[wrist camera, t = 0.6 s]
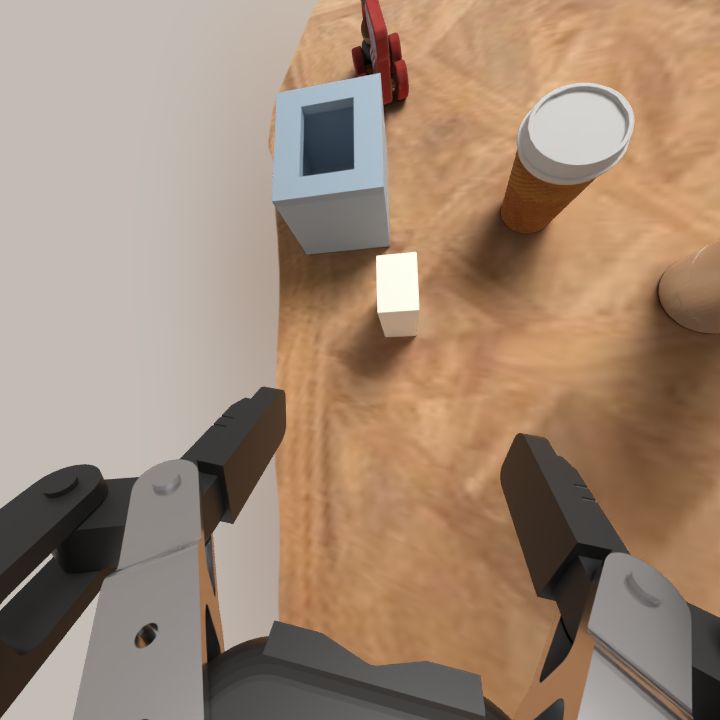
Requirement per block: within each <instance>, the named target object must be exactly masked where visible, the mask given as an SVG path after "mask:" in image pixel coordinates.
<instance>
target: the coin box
mask: <svg viewBox="0 0 720 720" xmlns="http://www.w3.org/2000/svg"><path fill="white" fill-rule="evenodd" d="M272 202H273V204H274V205H275V207H276V208H277V210H278V211H279V213H280V214H281V216H282V217H283V219H284V221H285V222H286V224H287V225H288V227H289V228H290V230H291V231H292V233H293V234H294V236H295V237H296V239H297V240H298V242H299V243H300V245H301V246H302V248H303V250H304V251H305V253H306V254H317V253H327V252H337V251H347V250H357V249H368V248H378V247H388V246H390V223H389V192H388V160H387V147H386V134H385V122H384V110H383V98H382V85H381V73H378V74H372V75H367V76H362V77H357V78H352V79H347V80H342V81H336V82H331V83H326V84H321V85H316V86H311V87H305V88H300V89H295V90H290V91H285V92H280V93H277V99H276V122H275V144H274V167H273V190H272Z"/></svg>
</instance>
